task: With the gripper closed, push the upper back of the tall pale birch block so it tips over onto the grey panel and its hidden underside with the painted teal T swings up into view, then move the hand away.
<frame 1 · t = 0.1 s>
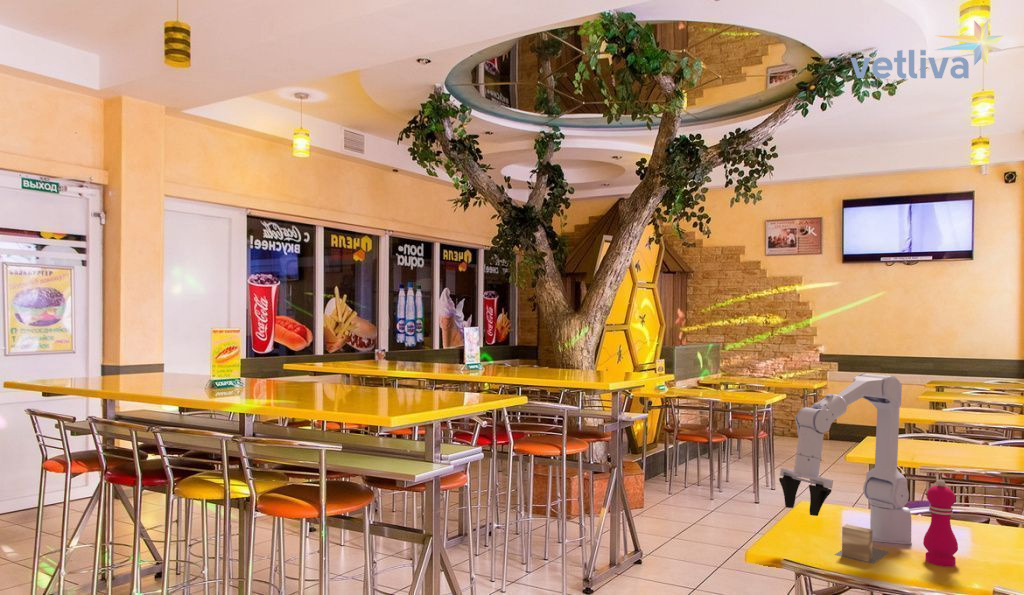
hand: (801, 511, 180), 11 cm above the table, tool pointing down, fingers open, 7 cm apart
pepper mill: (940, 563, 176), on the table
birch block: (857, 556, 178), resting on grey panel
grey panel: (862, 554, 181), on the table
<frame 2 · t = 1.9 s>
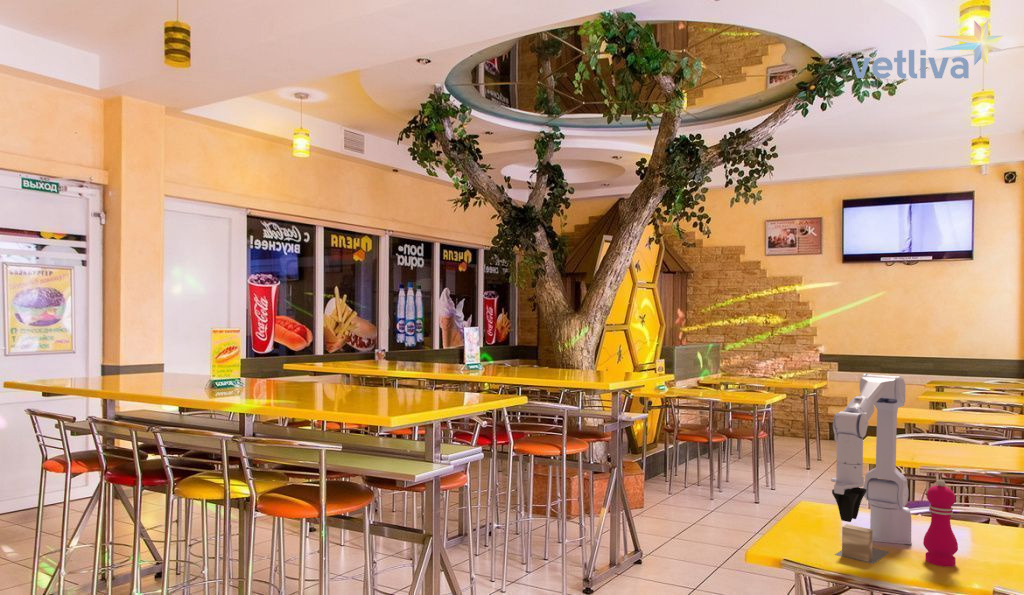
hand: (848, 519, 174), 10 cm above the table, tool pointing down, fingers open, 3 cm apart
nothing on the table moved.
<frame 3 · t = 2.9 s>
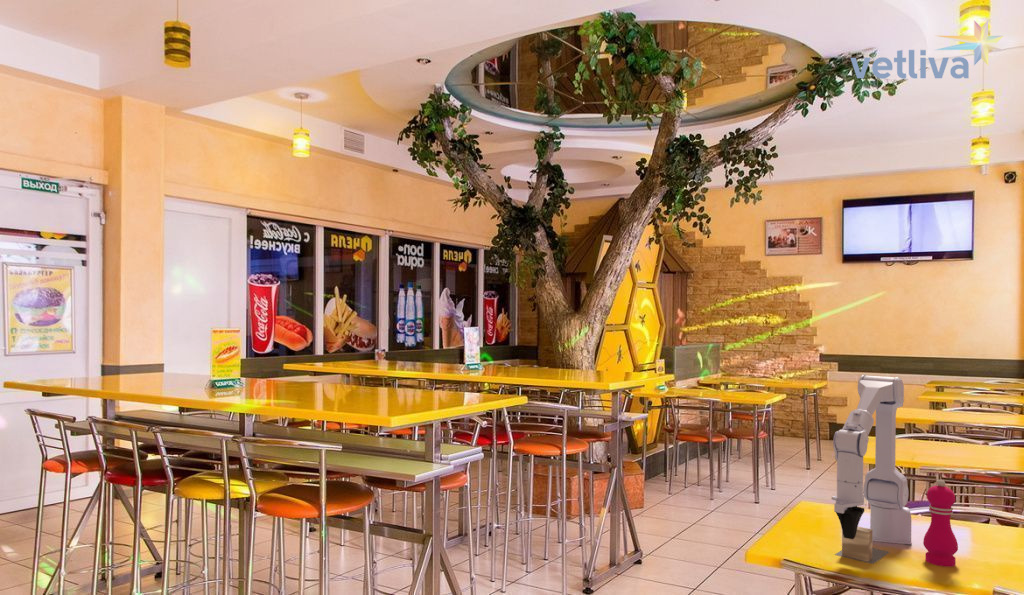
hand: (849, 537, 174), 6 cm above the table, tool pointing down, fingers closed
nothing on the table moved.
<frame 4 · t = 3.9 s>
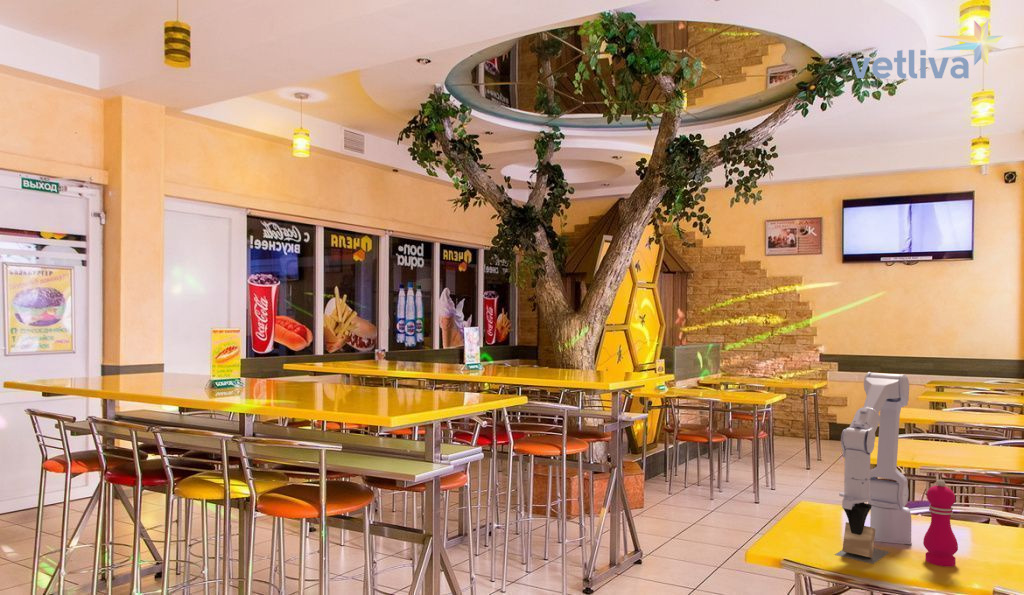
hand: (856, 533, 178), 6 cm above the table, tool pointing down, fingers closed
birch block: (857, 554, 178), point 1 cm above the table, tilted 19°, touching grey panel
everything else where it was.
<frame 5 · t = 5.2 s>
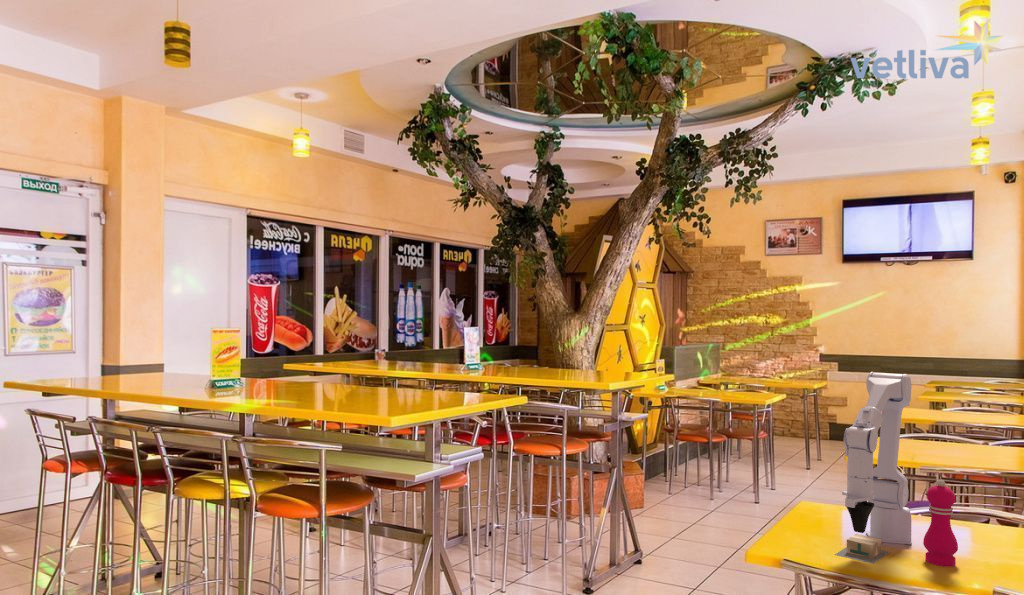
hand: (859, 531, 180), 6 cm above the table, tool pointing down, fingers closed
birch block: (859, 548, 180), point 2 cm above the table, tilted 90°, touching grey panel
everything else where it was.
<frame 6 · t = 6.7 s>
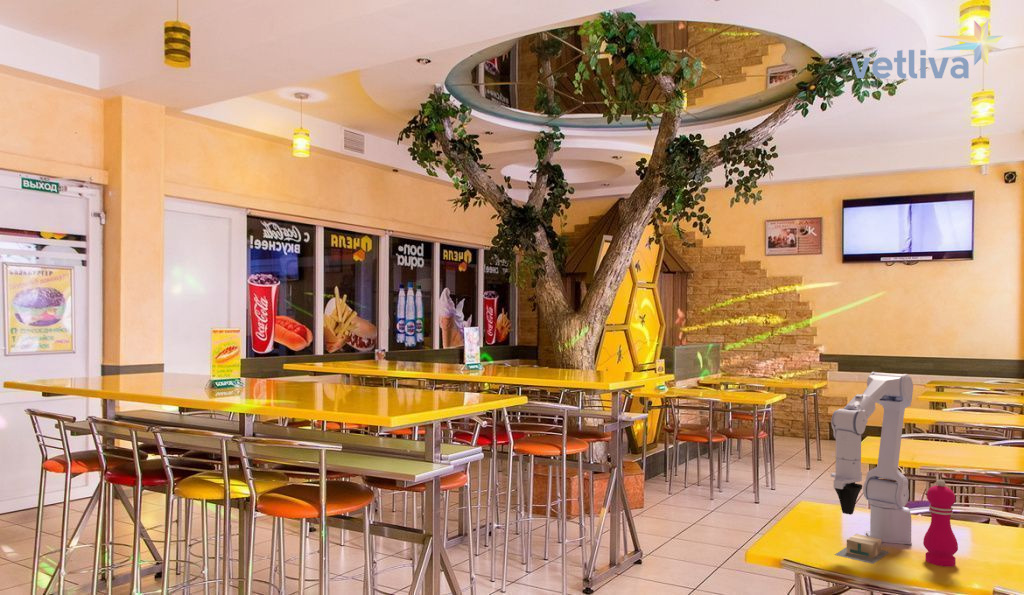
hand: (847, 513, 180), 10 cm above the table, tool pointing down, fingers closed
nothing on the table moved.
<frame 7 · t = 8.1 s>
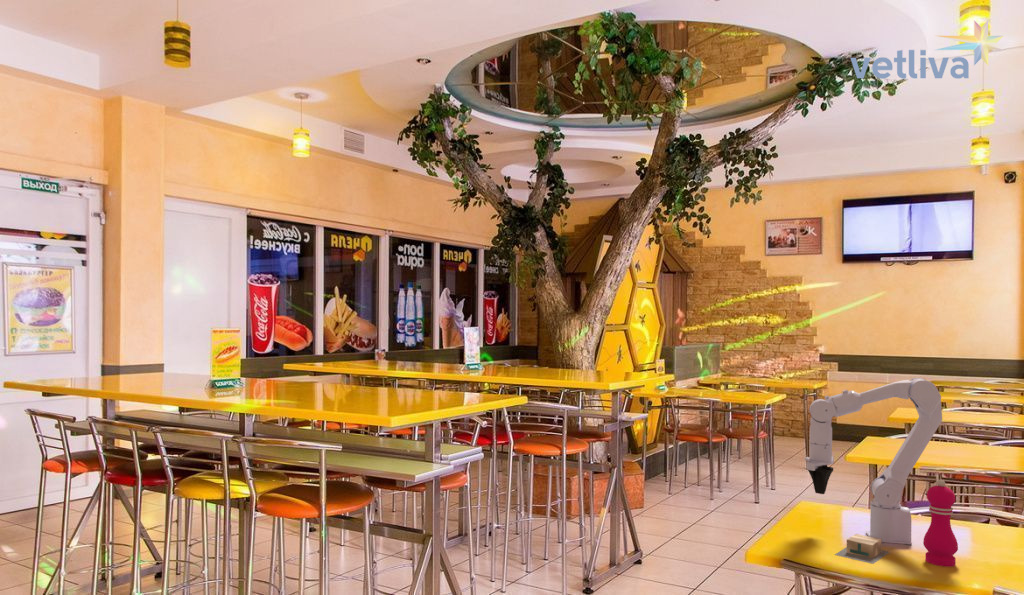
hand: (820, 493, 200), 10 cm above the table, tool pointing down, fingers closed
nothing on the table moved.
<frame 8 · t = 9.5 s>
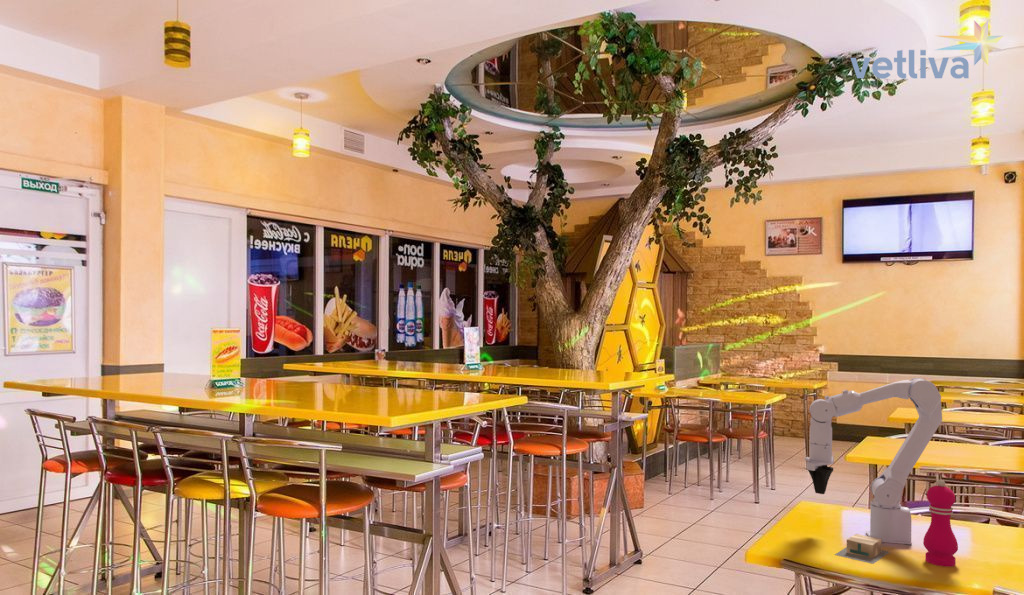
hand: (820, 493, 200), 10 cm above the table, tool pointing down, fingers closed
nothing on the table moved.
at the end: birch block tilted 90°; birch block inside the target area (1.5 cm from its centre), point 1.8 cm above the table; birch block touching grey panel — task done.
